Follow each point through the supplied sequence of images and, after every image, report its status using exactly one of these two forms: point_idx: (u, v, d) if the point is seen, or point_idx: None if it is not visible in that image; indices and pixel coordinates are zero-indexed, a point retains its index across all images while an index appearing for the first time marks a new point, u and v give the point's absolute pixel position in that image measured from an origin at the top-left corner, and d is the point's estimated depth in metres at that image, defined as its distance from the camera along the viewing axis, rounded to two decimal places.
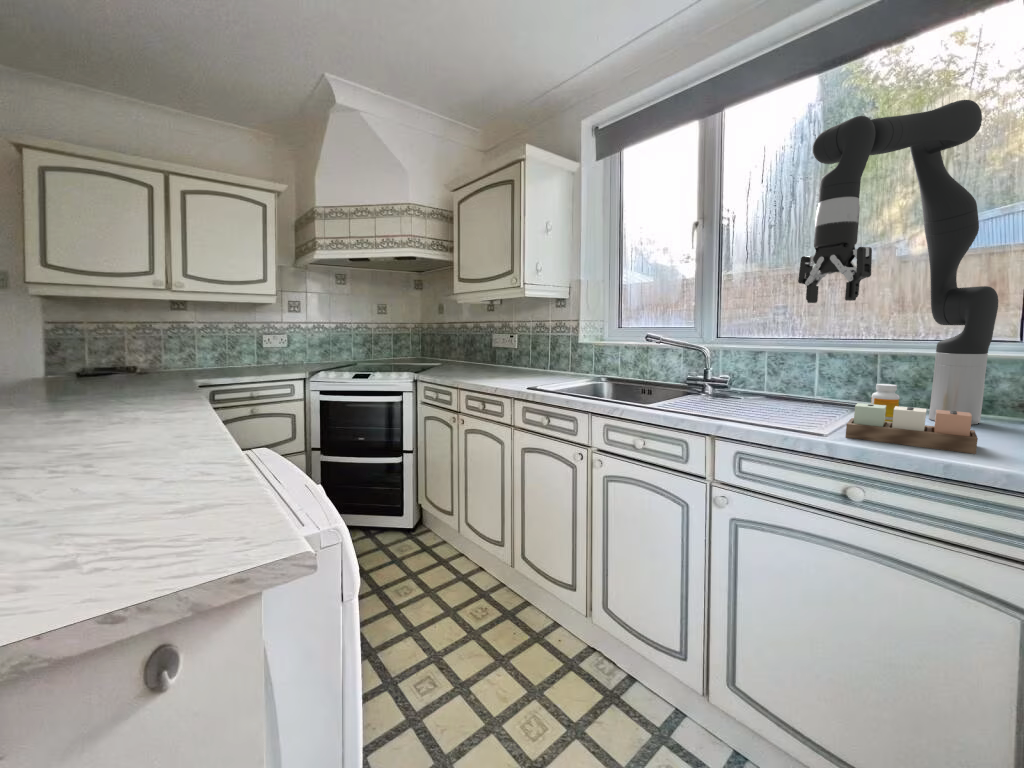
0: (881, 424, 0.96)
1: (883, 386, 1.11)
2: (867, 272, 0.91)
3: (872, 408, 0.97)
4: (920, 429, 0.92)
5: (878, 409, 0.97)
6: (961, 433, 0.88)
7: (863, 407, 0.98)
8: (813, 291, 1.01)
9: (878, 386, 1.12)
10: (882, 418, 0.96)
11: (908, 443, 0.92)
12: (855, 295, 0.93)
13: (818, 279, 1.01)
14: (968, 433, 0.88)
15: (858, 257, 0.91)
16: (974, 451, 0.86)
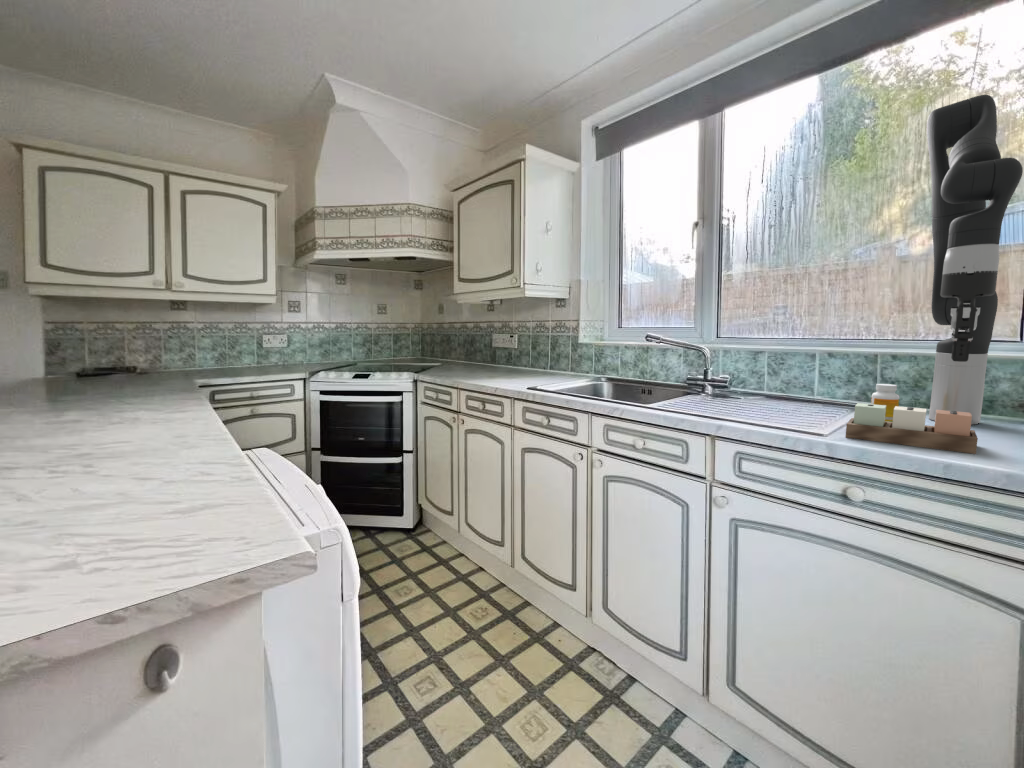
0: (881, 424, 0.96)
1: (883, 386, 1.11)
2: None
3: (872, 408, 0.97)
4: (920, 429, 0.92)
5: (878, 409, 0.97)
6: (961, 433, 0.88)
7: (863, 407, 0.98)
8: None
9: (878, 386, 1.12)
10: (882, 418, 0.96)
11: (908, 443, 0.92)
12: None
13: None
14: (968, 433, 0.88)
15: None
16: (974, 451, 0.86)
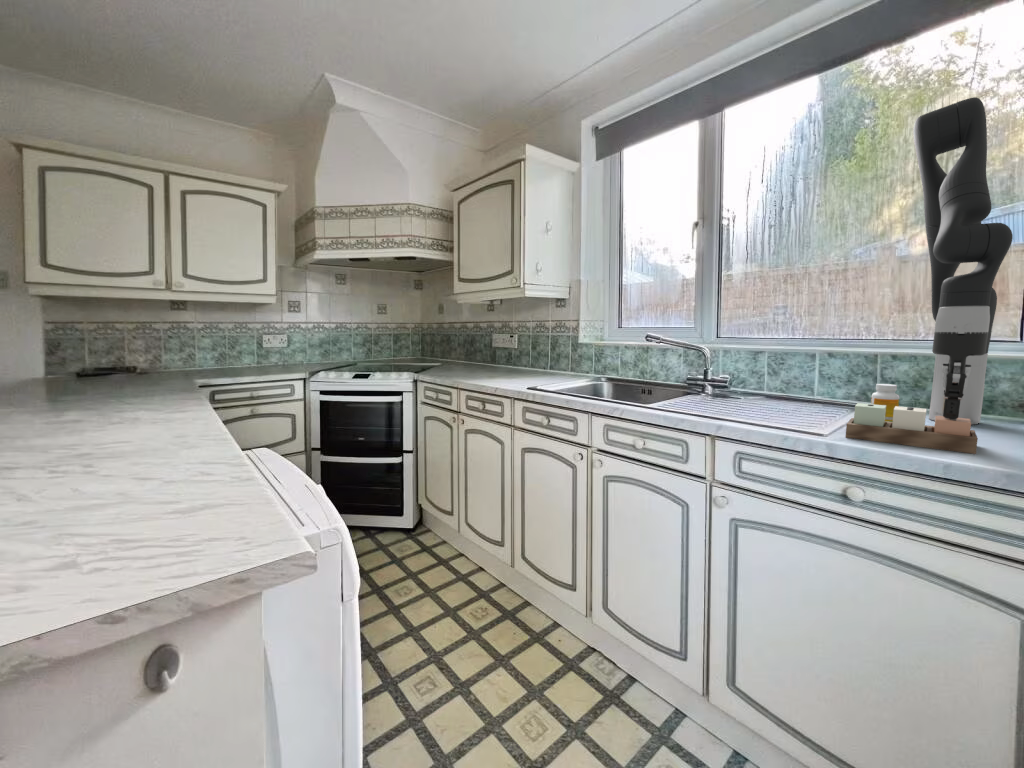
0: (881, 424, 0.96)
1: (883, 386, 1.11)
2: None
3: (872, 408, 0.97)
4: (920, 429, 0.92)
5: (878, 409, 0.97)
6: None
7: (863, 407, 0.98)
8: None
9: (878, 386, 1.12)
10: (882, 418, 0.96)
11: (908, 443, 0.92)
12: None
13: None
14: None
15: None
16: (974, 451, 0.86)
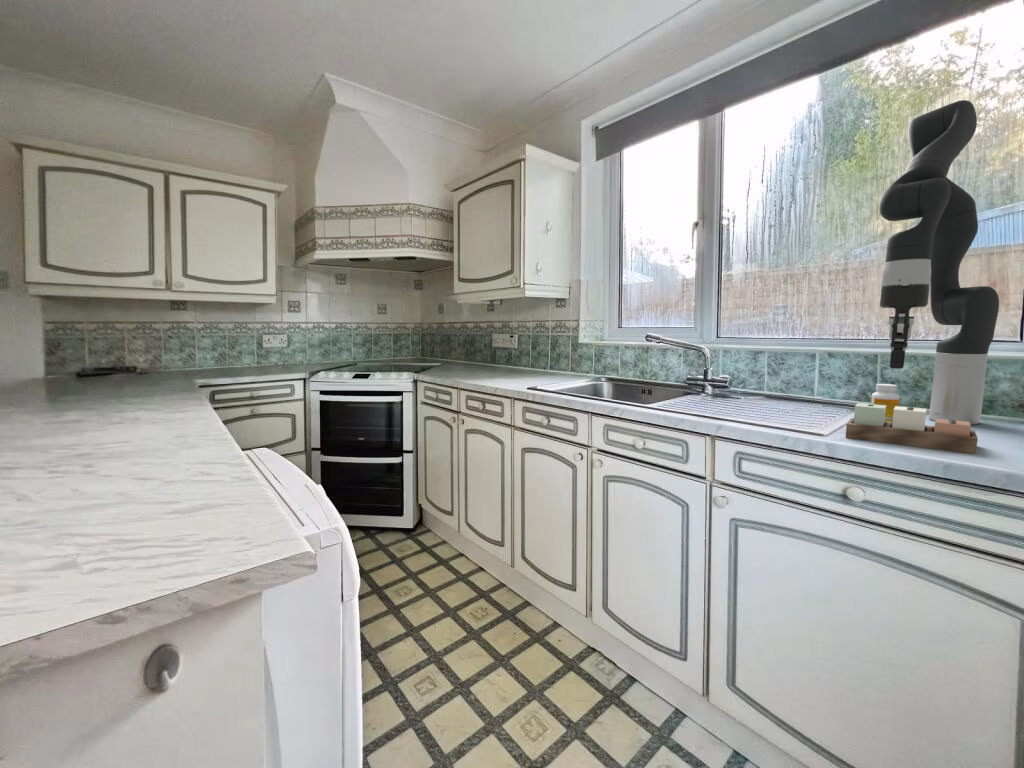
0: (881, 424, 0.96)
1: (883, 386, 1.11)
2: None
3: (872, 408, 0.97)
4: (920, 429, 0.92)
5: (878, 409, 0.97)
6: None
7: (863, 407, 0.98)
8: None
9: (878, 386, 1.12)
10: (882, 418, 0.96)
11: (908, 443, 0.92)
12: None
13: None
14: None
15: None
16: (974, 451, 0.86)
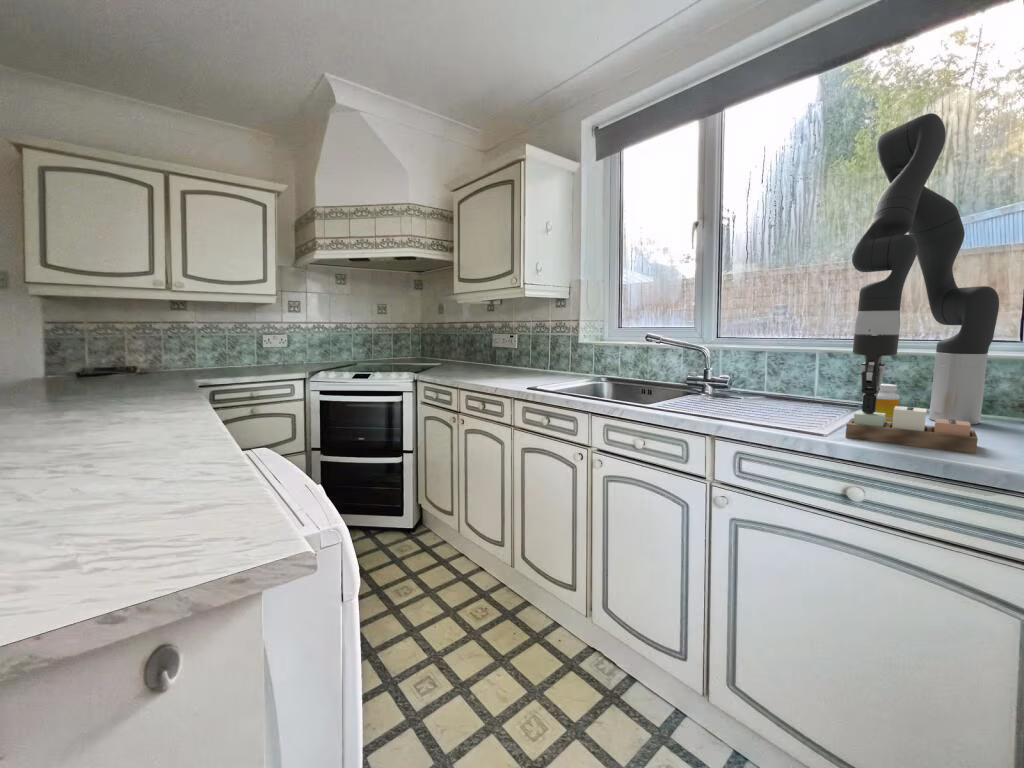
0: None
1: (883, 386, 1.11)
2: None
3: (871, 416, 0.98)
4: (920, 429, 0.92)
5: (877, 417, 0.97)
6: None
7: (862, 415, 0.99)
8: None
9: None
10: (881, 426, 0.97)
11: (908, 443, 0.92)
12: None
13: (866, 387, 0.99)
14: None
15: None
16: (974, 451, 0.86)
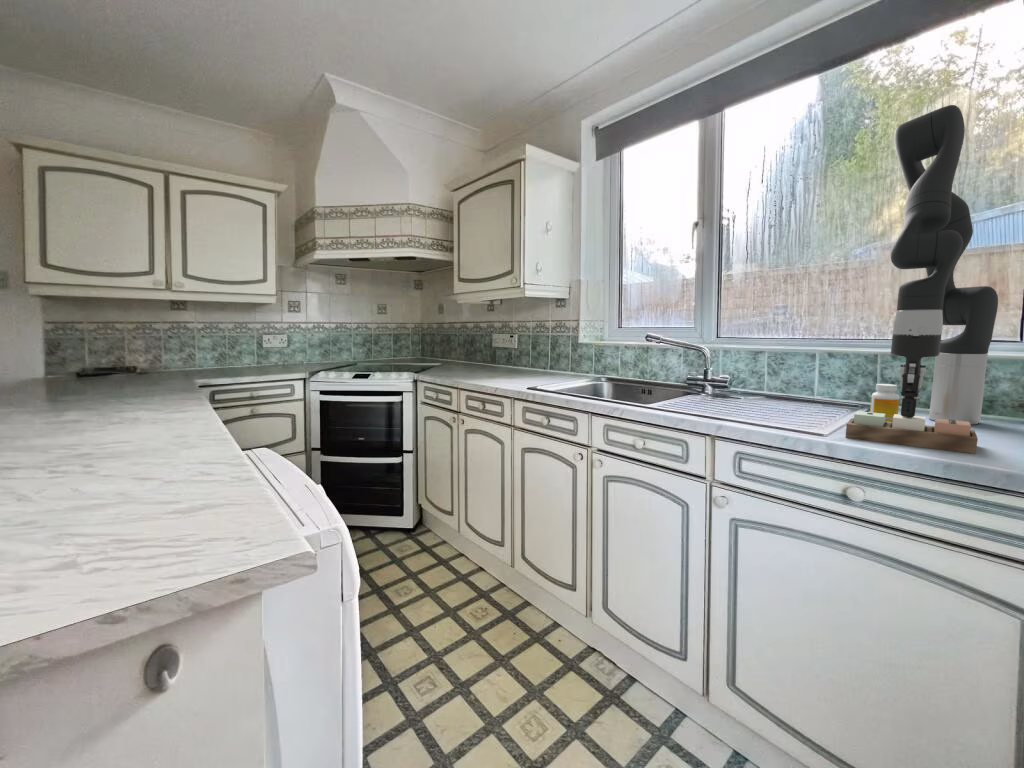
0: None
1: (883, 386, 1.11)
2: None
3: (871, 417, 0.98)
4: None
5: (877, 418, 0.97)
6: None
7: (862, 415, 0.99)
8: None
9: (878, 386, 1.12)
10: None
11: (908, 443, 0.92)
12: None
13: None
14: None
15: None
16: (974, 451, 0.86)
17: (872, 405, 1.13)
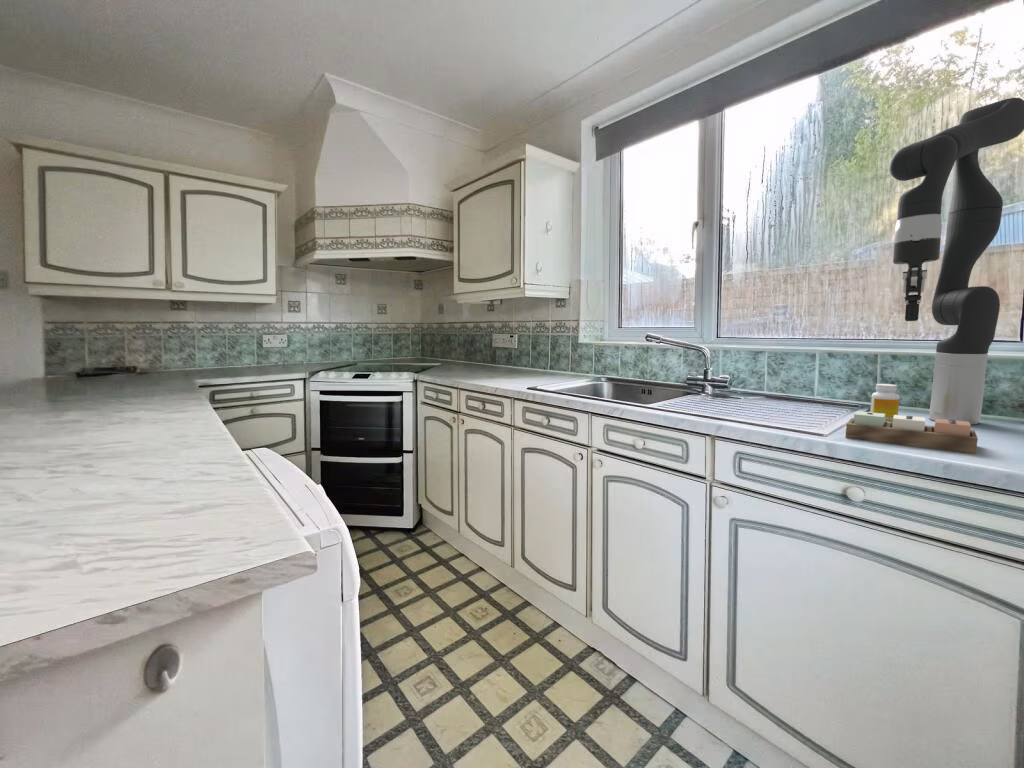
0: None
1: (883, 386, 1.11)
2: None
3: (871, 417, 0.98)
4: None
5: (877, 418, 0.97)
6: None
7: (862, 415, 0.99)
8: None
9: (878, 386, 1.12)
10: None
11: (908, 443, 0.92)
12: None
13: None
14: None
15: None
16: (974, 451, 0.86)
17: (872, 405, 1.13)
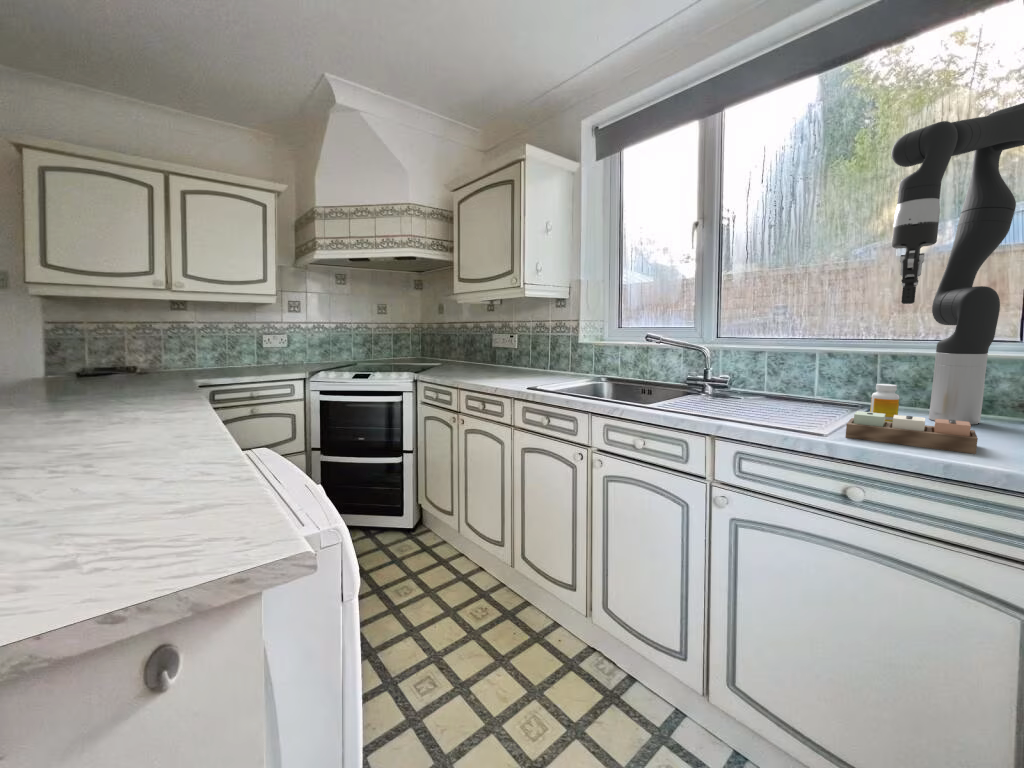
0: None
1: (883, 386, 1.11)
2: None
3: (871, 417, 0.98)
4: None
5: (877, 418, 0.97)
6: None
7: (862, 415, 0.99)
8: None
9: (878, 386, 1.12)
10: None
11: (908, 443, 0.92)
12: None
13: None
14: None
15: None
16: (974, 451, 0.86)
17: (872, 405, 1.13)
